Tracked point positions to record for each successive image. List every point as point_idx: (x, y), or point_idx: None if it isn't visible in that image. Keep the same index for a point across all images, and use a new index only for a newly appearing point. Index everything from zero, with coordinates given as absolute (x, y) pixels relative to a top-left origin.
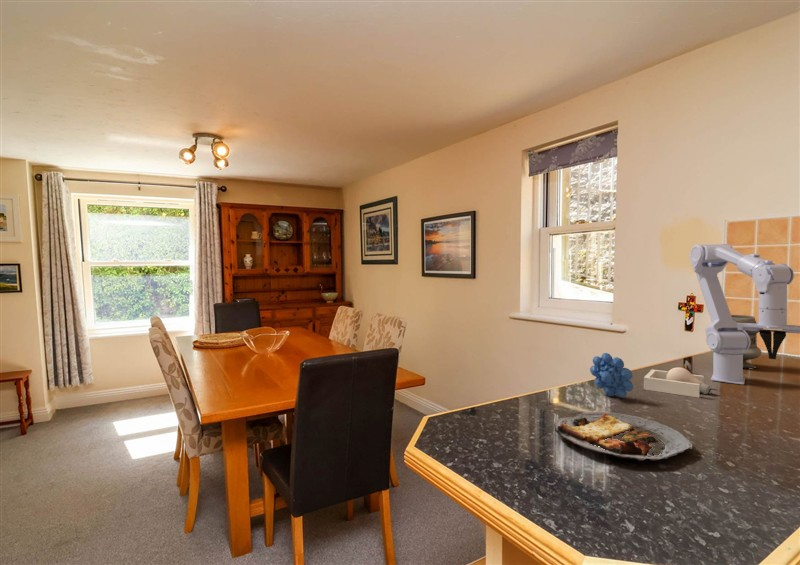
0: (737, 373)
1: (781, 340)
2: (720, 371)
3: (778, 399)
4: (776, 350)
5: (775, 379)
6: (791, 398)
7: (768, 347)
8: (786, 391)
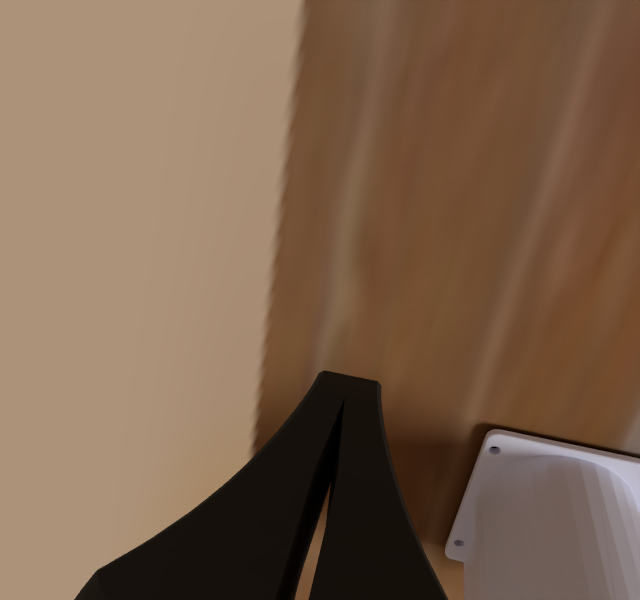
0: (522, 505)
1: (173, 538)
2: (628, 522)
3: (365, 154)
4: (289, 433)
5: (305, 563)
6: (287, 221)
7: (373, 479)
8: (291, 371)
